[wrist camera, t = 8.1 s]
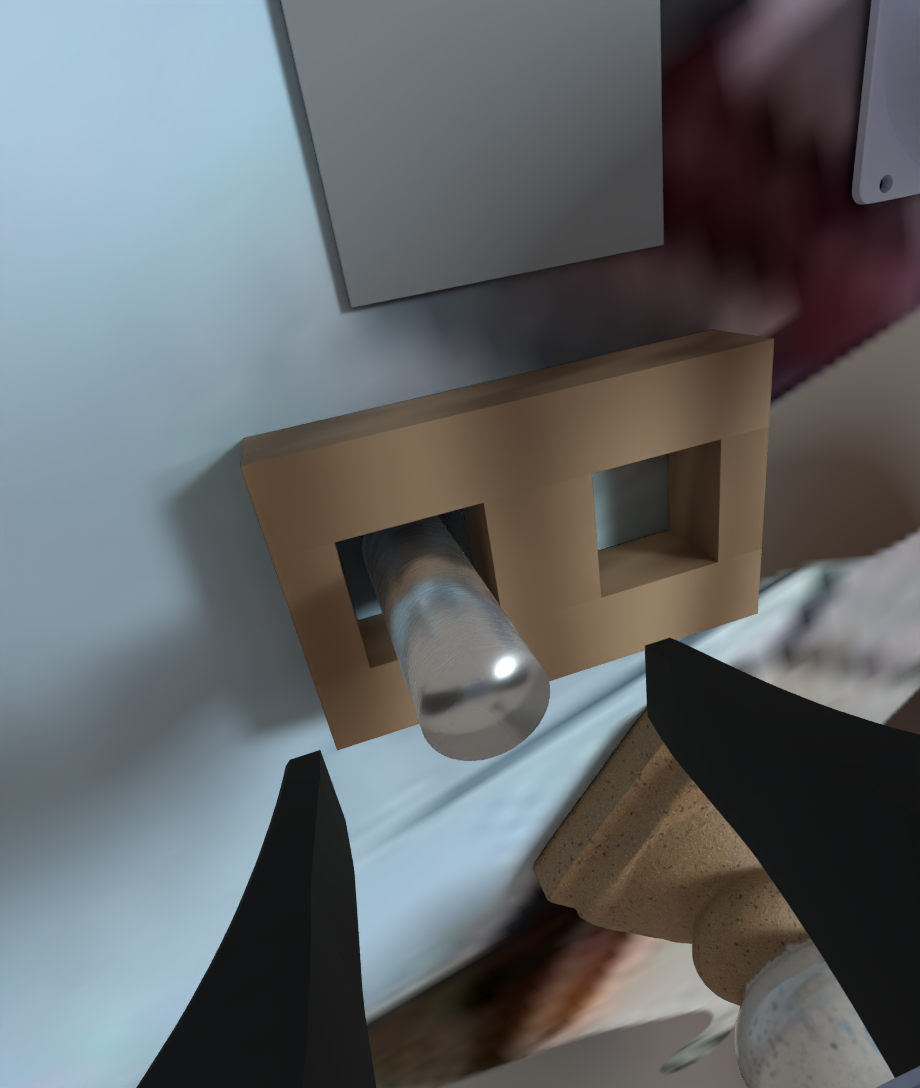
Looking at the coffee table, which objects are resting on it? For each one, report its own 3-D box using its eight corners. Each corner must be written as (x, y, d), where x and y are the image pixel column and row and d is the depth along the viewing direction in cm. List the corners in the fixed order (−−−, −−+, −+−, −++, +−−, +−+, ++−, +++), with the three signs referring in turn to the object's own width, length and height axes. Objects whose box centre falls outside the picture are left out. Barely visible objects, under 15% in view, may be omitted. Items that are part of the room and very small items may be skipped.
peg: (442, 495, 21) (548, 634, 13) (450, 572, 23) (550, 740, 15) (355, 511, 21) (412, 667, 13) (368, 590, 22) (427, 775, 14)
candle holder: (655, 693, 28) (1829, 1998, 7) (800, 751, 33) (1765, 1637, 12) (527, 869, 30) (1108, 2228, 9) (679, 900, 35) (1295, 1855, 14)
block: (712, 329, 21) (774, 338, 19) (708, 577, 26) (757, 613, 23) (244, 438, 19) (240, 466, 16) (329, 695, 23) (337, 750, 21)
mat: (650, -200, 15) (656, -208, 15) (658, 244, 20) (663, 244, 20) (239, -174, 14) (239, -182, 13) (350, 306, 18) (351, 307, 18)
